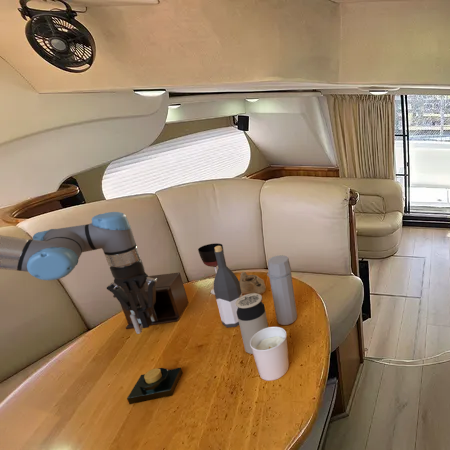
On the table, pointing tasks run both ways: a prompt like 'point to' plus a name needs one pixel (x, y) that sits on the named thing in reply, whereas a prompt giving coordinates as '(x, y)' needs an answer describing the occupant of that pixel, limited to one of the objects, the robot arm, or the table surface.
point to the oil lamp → (251, 284)
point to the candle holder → (270, 352)
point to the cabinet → (165, 299)
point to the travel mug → (251, 317)
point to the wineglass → (209, 256)
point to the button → (152, 375)
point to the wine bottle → (226, 290)
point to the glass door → (138, 321)
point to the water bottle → (282, 289)
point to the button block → (155, 386)
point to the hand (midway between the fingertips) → (147, 325)
